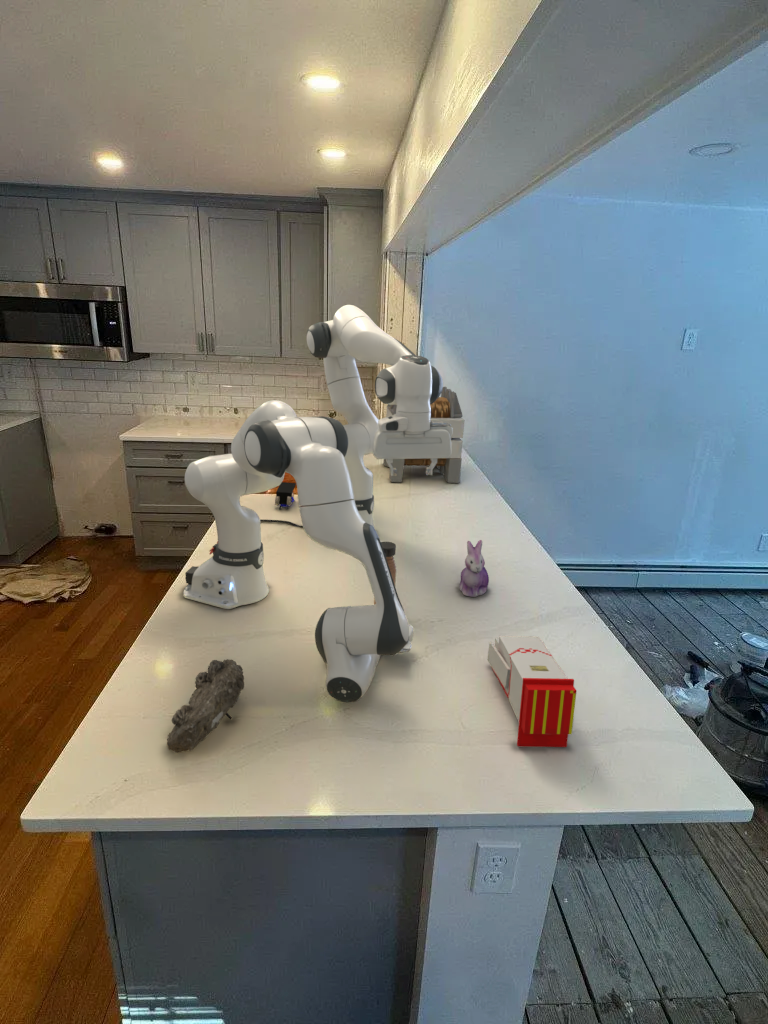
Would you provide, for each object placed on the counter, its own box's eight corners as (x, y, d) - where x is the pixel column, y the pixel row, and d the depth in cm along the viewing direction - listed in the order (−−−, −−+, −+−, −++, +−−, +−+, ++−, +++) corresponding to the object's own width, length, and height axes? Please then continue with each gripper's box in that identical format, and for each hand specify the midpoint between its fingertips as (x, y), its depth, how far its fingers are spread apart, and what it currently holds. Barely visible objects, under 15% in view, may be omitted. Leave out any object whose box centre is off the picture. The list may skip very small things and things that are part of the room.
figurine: (470, 601, 155) (475, 551, 150) (449, 585, 164) (454, 537, 159) (497, 594, 160) (504, 545, 154) (476, 579, 168) (481, 532, 163)
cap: (397, 551, 144) (398, 543, 143) (392, 558, 140) (392, 549, 139) (381, 548, 145) (381, 540, 144) (374, 555, 141) (375, 546, 140)
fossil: (192, 660, 117) (244, 628, 112) (224, 691, 120) (276, 661, 115) (142, 746, 98) (202, 712, 93) (182, 779, 101) (242, 748, 96)
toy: (536, 619, 129) (586, 686, 99) (531, 673, 131) (578, 754, 102) (483, 618, 128) (517, 685, 99) (479, 672, 131) (511, 753, 102)
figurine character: (292, 514, 217) (296, 498, 230) (291, 496, 214) (296, 480, 227) (274, 514, 217) (280, 497, 230) (273, 496, 213) (279, 480, 227)
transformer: (382, 463, 289) (386, 382, 275) (445, 464, 293) (451, 384, 279) (390, 482, 257) (394, 392, 243) (460, 483, 261) (468, 394, 247)
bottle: (396, 609, 150) (400, 544, 143) (390, 619, 145) (393, 552, 139) (377, 605, 151) (380, 540, 145) (370, 614, 146) (372, 548, 140)
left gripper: (410, 641, 121) (419, 609, 134) (318, 627, 124) (335, 598, 137) (408, 666, 123) (417, 632, 136) (318, 652, 126) (334, 620, 139)
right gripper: (449, 419, 148) (447, 471, 152) (372, 420, 145) (371, 472, 149) (456, 423, 142) (453, 477, 146) (375, 424, 139) (374, 478, 144)
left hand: (375, 615), depth 137 cm, fingers open, 8 cm apart
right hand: (411, 475), depth 148 cm, fingers open, 8 cm apart
